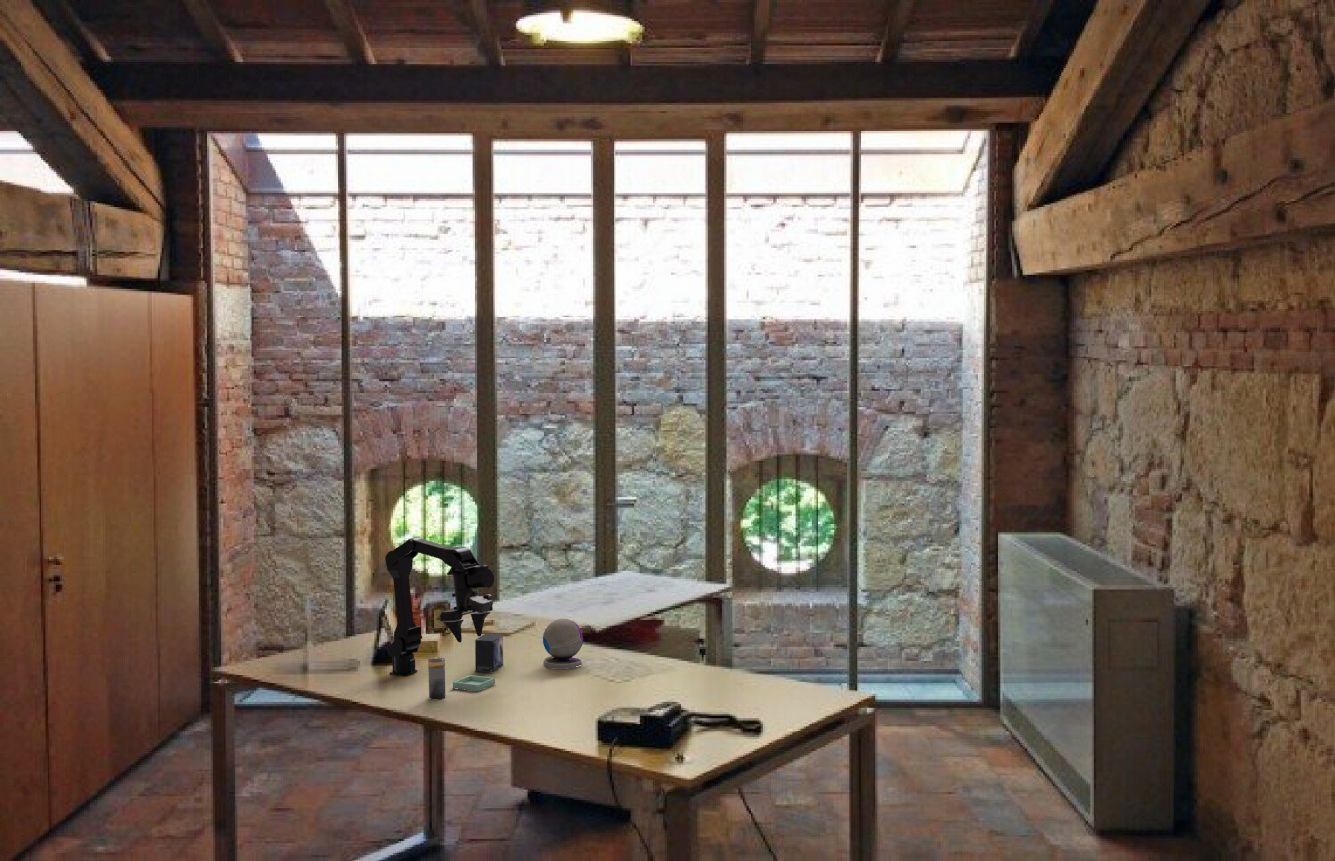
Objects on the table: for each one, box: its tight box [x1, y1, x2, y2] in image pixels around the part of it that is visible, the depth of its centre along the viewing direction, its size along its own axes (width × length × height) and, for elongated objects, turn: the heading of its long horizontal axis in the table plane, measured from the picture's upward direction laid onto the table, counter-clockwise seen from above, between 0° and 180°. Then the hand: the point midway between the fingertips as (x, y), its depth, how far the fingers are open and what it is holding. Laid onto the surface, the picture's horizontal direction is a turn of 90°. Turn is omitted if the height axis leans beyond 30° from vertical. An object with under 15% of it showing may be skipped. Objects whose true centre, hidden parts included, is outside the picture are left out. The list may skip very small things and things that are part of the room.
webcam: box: [542, 618, 584, 670], centre depth 467 cm, size 13×13×15 cm
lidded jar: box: [427, 656, 446, 700], centre depth 429 cm, size 5×5×12 cm
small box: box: [474, 632, 504, 673], centre depth 463 cm, size 11×6×10 cm, turn 168°
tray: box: [452, 674, 496, 693], centre depth 441 cm, size 9×9×2 cm
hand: (469, 639), depth 443 cm, fingers open, 9 cm apart
